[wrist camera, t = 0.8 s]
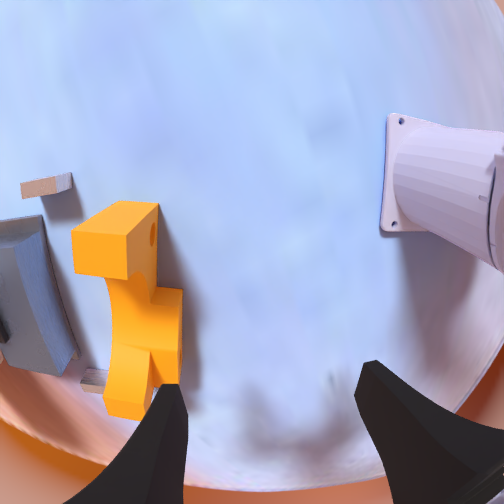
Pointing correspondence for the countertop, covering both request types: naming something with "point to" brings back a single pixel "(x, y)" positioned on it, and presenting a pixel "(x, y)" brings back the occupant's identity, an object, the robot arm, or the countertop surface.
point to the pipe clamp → (132, 304)
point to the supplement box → (1, 357)
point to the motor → (36, 296)
